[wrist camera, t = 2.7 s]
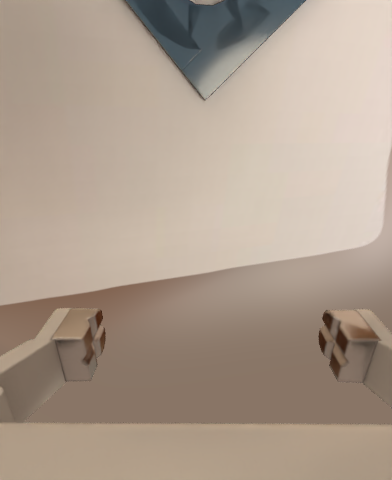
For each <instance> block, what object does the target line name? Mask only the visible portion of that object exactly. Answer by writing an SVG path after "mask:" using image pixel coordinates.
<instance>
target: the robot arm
mask: <svg viewBox="0 0 392 480" xmlns="http://www.w3.org/2000/svg"><path fill="white" fill-rule="evenodd" d="M102 319H103V316H102V311H101V310H100V309H85V308H84V309H83V308H58V309H56V310H55V311H54V313H53V314H52V315H51V317H50V318H49V319H48V321H47V322H46V324H45V325H44V326H43V328H42V329H41V330H40V332H39V333H38V335H37V336H36V337H35V339H34V340H28V341H26V342H25V343H23V344H21V345H19V346H18V347H16V348H14V349H12V350H11V351H9V352H8V353H6V354H4V355H2V356H0V480H392V424H244V423H242V424H241V423H239V424H238V423H234V424H233V423H227V424H225V423H23V422H24V421H25V420H27V419H28V418H29V417H30V416H31V415H32V414H33V413H34V412H35V411H36V410H37V409H38V408H39V407H40V406H41V405H43V404H44V403H45V402H46V401H47V400H48V399H49V398H50V397H51V396H52V395H53V394H54V393H55V392H56V391H57V390H59V389H60V388H61V387H62V386H63V385H64V384H65V383H66V382H65V381H91V380H92V377H93V375H94V372H95V370H96V367H97V359H96V358H98V357H99V356H100V355H101V354H102V352H103V349H104V344H105V328H104V327H103V326H102V325H101V321H102ZM322 319H323V321H324V323H325V325H324V326H322V327H321V328H320V331H319V345H320V348H321V351H322V352H323V355H324V356H326V357H327V358H328V359H330V360H331V361H330V365H329V366H330V368H331V370H332V372H333V374H334V376H335V377H336V379H337V381H338V382H356V383H357V382H358V383H364V385H365V386H366V387H368V388H369V389H370V390H371V391H372V392H373V393H374V394H376V395H377V396H378V397H379V398H380V399H382V400H383V401H384V402H385V403H386V404H387V405H389V406H390V407H391V408H392V333H391V332H390V331H389V330H388V329H387V328H386V326H385V325H384V324H383V323H382V322H381V321H380V320H379V319H378V318H377V316H376V315H375V314H374V313H373V312H372V311H371V310H369V309H359V310H358V309H356V310H326V311H325V312H324V314H323V318H322Z"/></svg>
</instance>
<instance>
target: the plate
mask: <svg viewBox="0 0 392 480" xmlns="http://www.w3.org/2000/svg"><path fill="white" fill-rule="evenodd" d="M125 1H126V2H127V3H128V5H129V6H130V7H131V8H132V10H133V11H134V12H135V13H136V15H137V16H138V17H139V19H140V20H141V21H142V22H143V24H144V25H145V26H146V27H147V29H148V30H149V31H150V32H151V34H152V35H153V36H154V37H155V39H156V40H157V41H158V42H159V44H160V45H161V46H162V47H163V49H164V50H165V51H166V52H167V54H168V55H169V56H170V57H171V59H172V60H173V61H174V63H175V64H176V65H177V66H178V68H179V69H180V70H181V71H182V73H183V74H184V75H185V76H186V78H187V79H188V80H189V81H190V83H191V84H192V85H193V86H194V88H195V89H196V90H197V91H198V93H199V94H200V95H201V96H202V98H203V99H204V100H206V99H207V98H208V97H209V96H210V95H211V94H212V93H213V92H214V91H215V90H216V89H217V88H218V87H219V86H220V85H221V84H222V83H224V82H225V81H226V80H227V79H228V78H229V77H230V76H231V75H232V74H233V73H234V72H235V71H236V70H237V69H238V68H239V67H240V66H241V65H242V64H243V63H244V62H245V61H246V60H247V59H248V58H249V57H250V56H251V55H252V54H253V53H254V52H255V51H256V50H257V49H258V48H259V47H260V46H261V45H262V44H263V43H264V42H265V41H266V40H267V39H268V38H269V37H270V36H271V35H272V34H273V33H274V32H275V31H276V30H277V29H278V28H279V27H280V26H281V25H282V24H283V23H284V22H285V21H286V20H287V19H288V18H289V17H290V16H291V15H292V14H293V13H294V12H295V11H296V10H297V9H298V8H299V7H300V6H301V5H302V4H303V3H304V2H305V1H306V0H224V1H222V2H219V3H217V4H215V5H201V4H195V3H193V2H192V1H190V0H125Z"/></svg>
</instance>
